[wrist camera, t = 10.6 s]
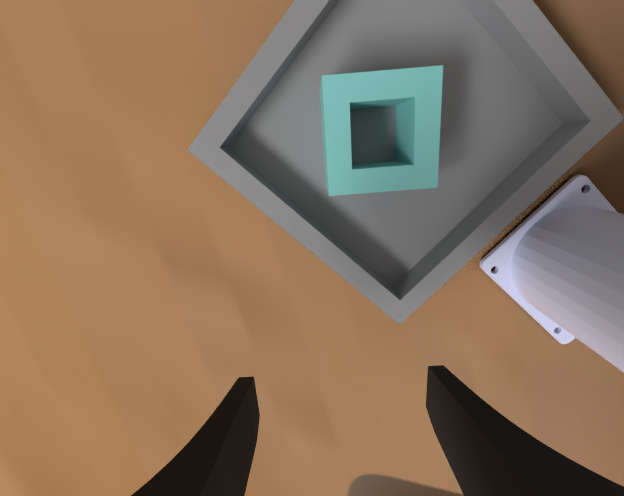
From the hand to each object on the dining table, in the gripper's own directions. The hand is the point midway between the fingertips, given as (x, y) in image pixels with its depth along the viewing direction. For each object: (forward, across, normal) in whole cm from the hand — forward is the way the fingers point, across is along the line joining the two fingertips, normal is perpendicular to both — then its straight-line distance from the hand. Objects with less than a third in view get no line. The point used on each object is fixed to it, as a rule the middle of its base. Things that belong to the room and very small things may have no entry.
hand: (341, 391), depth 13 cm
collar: (+9, -3, -10) cm, 14 cm away
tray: (+9, -4, -10) cm, 14 cm away
